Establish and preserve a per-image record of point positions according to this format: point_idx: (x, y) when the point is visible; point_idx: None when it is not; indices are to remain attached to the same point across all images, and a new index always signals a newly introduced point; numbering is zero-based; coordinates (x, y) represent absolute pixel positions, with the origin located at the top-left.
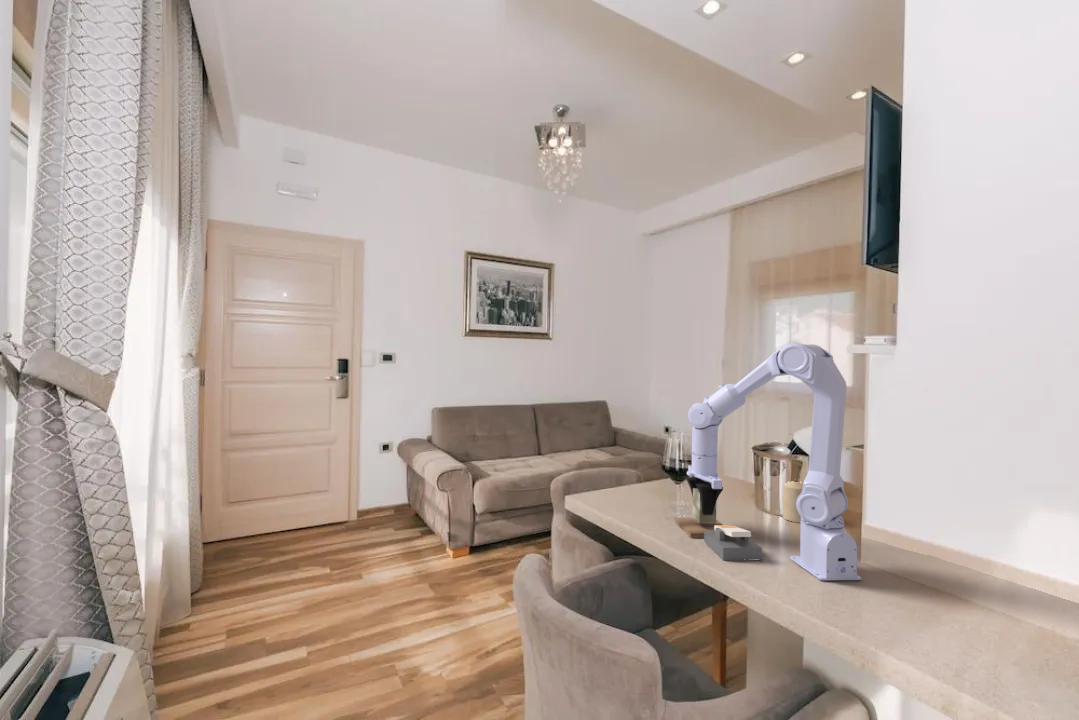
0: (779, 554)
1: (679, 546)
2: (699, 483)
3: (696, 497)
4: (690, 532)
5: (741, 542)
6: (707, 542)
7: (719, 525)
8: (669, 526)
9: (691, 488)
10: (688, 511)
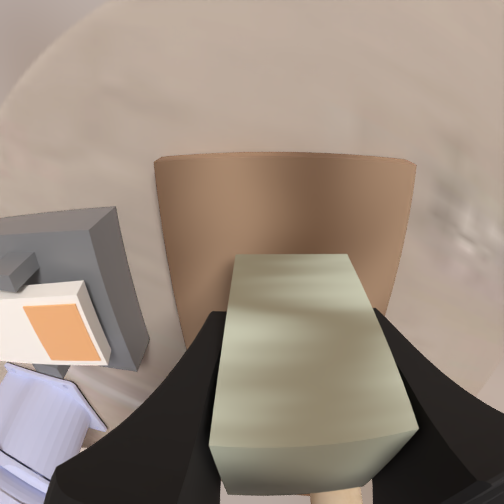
0: (93, 379)
1: (63, 78)
2: (406, 495)
3: (306, 379)
4: (168, 164)
5: None
6: (79, 214)
7: (71, 315)
8: (345, 95)
9: (444, 408)
10: (489, 282)
